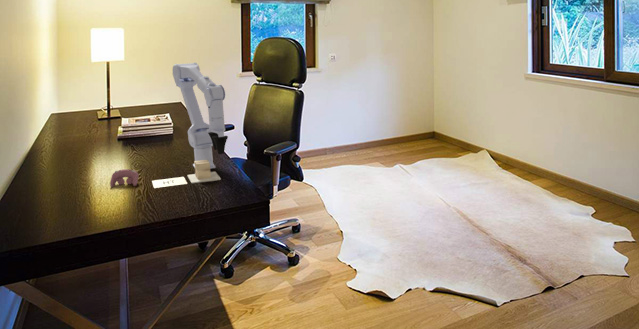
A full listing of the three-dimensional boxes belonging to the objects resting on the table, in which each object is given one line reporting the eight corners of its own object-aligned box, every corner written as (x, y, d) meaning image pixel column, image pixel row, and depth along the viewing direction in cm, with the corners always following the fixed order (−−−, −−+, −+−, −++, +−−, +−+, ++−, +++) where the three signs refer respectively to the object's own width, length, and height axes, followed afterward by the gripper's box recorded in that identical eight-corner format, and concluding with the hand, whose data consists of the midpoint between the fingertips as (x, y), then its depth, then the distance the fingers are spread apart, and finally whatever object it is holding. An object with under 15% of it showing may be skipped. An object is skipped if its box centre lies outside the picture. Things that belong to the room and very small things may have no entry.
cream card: (151, 181, 193) (151, 180, 193) (183, 177, 197) (183, 176, 197) (154, 188, 184) (154, 187, 184) (187, 184, 188) (187, 183, 188)
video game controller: (139, 187, 191) (140, 169, 192) (135, 186, 186) (136, 167, 187) (113, 188, 190) (113, 170, 191) (108, 187, 186) (109, 168, 187)
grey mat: (187, 176, 198) (187, 174, 198) (215, 172, 202) (215, 171, 202) (191, 183, 188) (191, 182, 188) (220, 180, 192) (220, 178, 192)
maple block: (195, 176, 196) (194, 161, 195) (208, 174, 198) (207, 159, 197) (197, 179, 192) (196, 164, 190) (210, 177, 194) (209, 162, 192)
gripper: (202, 115, 199) (205, 148, 202) (209, 121, 186) (212, 156, 189) (220, 113, 201) (222, 146, 205) (228, 119, 188) (230, 154, 192)
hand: (219, 151), depth 197 cm, fingers open, 7 cm apart
